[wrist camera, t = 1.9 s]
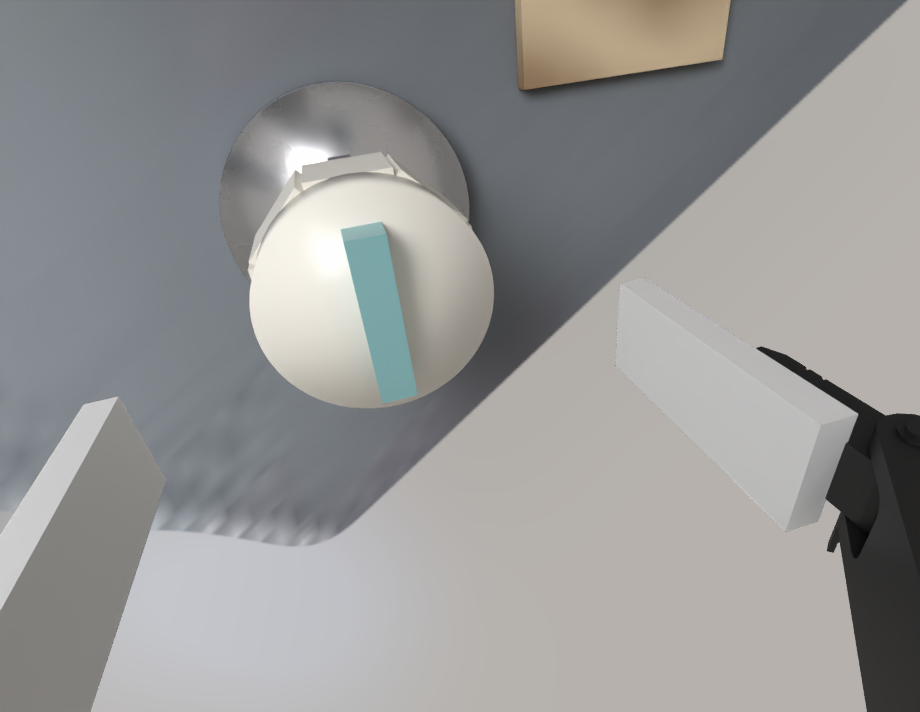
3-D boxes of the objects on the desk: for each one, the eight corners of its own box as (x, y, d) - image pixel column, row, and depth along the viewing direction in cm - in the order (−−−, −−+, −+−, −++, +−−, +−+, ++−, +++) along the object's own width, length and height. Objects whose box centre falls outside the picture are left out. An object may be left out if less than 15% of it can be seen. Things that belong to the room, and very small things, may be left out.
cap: (230, 175, 18) (202, 225, 13) (444, 139, 19) (497, 172, 14) (293, 360, 22) (291, 453, 17) (466, 321, 23) (512, 397, 18)
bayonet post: (183, 101, 22) (112, 132, 14) (447, 64, 24) (523, 71, 16) (268, 337, 29) (254, 453, 20) (472, 292, 31) (535, 382, 22)
